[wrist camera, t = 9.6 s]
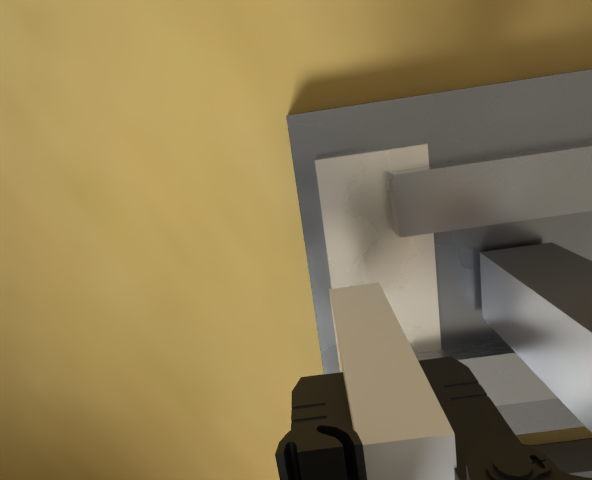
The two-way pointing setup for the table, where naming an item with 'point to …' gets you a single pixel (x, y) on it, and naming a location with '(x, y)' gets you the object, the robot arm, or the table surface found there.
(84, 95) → the table surface
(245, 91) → the table surface
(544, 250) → the lever
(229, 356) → the table surface
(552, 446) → the long dark grey rail
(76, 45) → the table surface
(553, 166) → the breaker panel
